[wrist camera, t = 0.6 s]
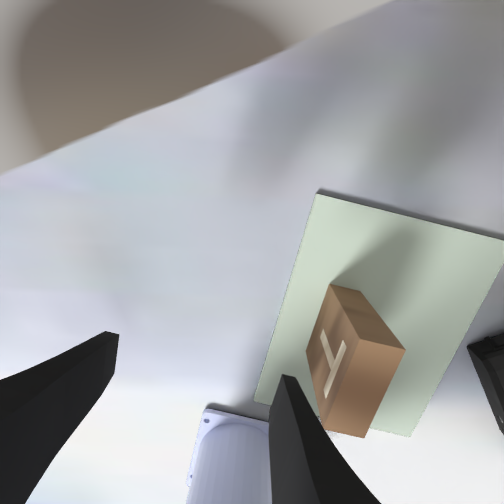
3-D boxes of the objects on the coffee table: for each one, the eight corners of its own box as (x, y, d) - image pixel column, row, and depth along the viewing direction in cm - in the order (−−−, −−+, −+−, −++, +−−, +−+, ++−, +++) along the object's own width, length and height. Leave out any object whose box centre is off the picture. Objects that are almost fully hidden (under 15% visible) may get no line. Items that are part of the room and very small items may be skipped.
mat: (407, 433, 25) (409, 437, 24) (253, 397, 24) (253, 401, 24) (509, 241, 20) (514, 243, 19) (315, 193, 19) (316, 193, 19)
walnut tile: (334, 357, 22) (363, 438, 16) (305, 350, 22) (322, 428, 16) (360, 291, 21) (406, 349, 14) (328, 283, 21) (359, 338, 14)
